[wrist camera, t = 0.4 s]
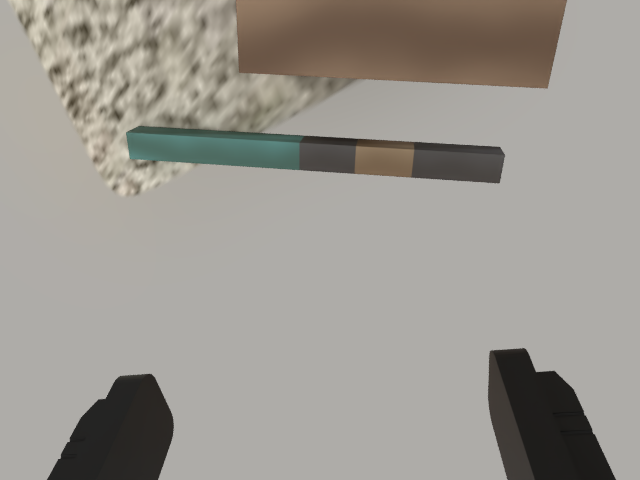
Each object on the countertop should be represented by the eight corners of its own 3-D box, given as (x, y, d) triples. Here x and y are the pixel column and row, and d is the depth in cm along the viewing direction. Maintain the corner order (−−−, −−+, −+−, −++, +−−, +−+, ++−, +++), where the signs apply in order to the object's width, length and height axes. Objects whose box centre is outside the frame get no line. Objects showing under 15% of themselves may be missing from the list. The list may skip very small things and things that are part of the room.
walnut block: (275, -44, 33) (233, -56, 25) (533, -38, 31) (577, -49, 23) (276, 54, 35) (239, 72, 27) (513, 65, 33) (547, 88, 25)
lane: (95, -186, 31) (75, -197, 29) (561, -198, 27) (572, -212, 25) (142, 151, 40) (130, 158, 38) (495, 174, 36) (499, 183, 35)
